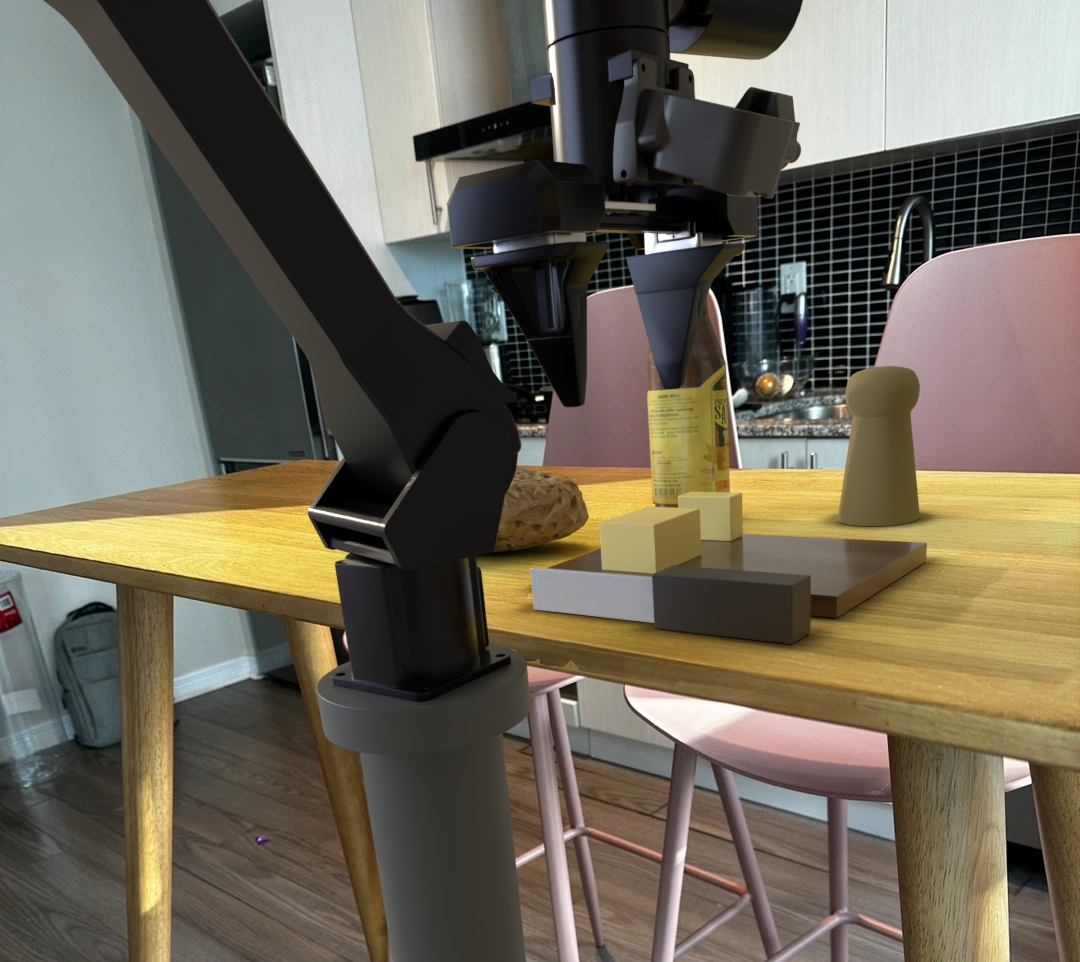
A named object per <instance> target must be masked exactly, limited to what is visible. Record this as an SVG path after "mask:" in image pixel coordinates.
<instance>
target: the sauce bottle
mask: <svg viewBox="0 0 1080 962" xmlns="http://www.w3.org/2000/svg"><path fill="white" fill-rule="evenodd" d="M645 362H646V363H645V364H646V373H647V374H646V375H647V392H646V405H647V421H648V422H647V423H648V440H649V458H650V460H649V461H650V476H651V495H652V496H651V497H652V504H653V505H654V507H669V508H679V507H678V496H680V495H682V494H685V493H688V492H731V481H730V445H729V442H730V441H729V439H730V438H729V437H730V436H729V411H728V410H729V409H728V383H727V382H728V381H727V380H728V379H727V361H726V360H725V357H724V354H723V352H722V349H721V346H720V343H719V340H718V337H717V335H716V332H715V329H714V326H713V323H712V320H711V317H710V315H709V307H708V297H707V298H706V301H705V305H704V308H703V311H702V315H701V319H700V322H699V327H698V331H697V334H696V338H695V342H694V346H693V350H692V354H691V358H690V362H689V366H688V370H687V374H686V377H685V381H684V385H683V386H682V387H681V388H679V389H664V388H663V386H662V383H661V380H660V377H659V374H658V372H657V369H656V366H655V363H654V359H653V356H652V352H651V348H650V347H649V348H648V351H647V353H646V361H645Z"/></svg>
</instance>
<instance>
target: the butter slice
mask: <svg viewBox="0 0 1080 962" xmlns="http://www.w3.org/2000/svg"><path fill="white" fill-rule="evenodd" d="M678 507H679V508H699V509H700V528H701V540H712V541H733V540H735V539H737V538H740V537H742V536H743V534H744V530H743V529H744V528H743V527H744V526H743V524H744V522H743V521H744V520H743V493H742V492H739V491H738V492H735V491H732V492H731V491H730V492H688V493H685V494H682V495H680V496H678Z"/></svg>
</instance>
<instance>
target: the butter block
mask: <svg viewBox="0 0 1080 962" xmlns="http://www.w3.org/2000/svg"><path fill="white" fill-rule="evenodd" d="M598 526H599V540H600V549H601V557H602V570H610V571H623V572H635V573H648V574H654V573H656V572H659V571H661V570H663V569H666V568H668V567H671V566H673V565H675V566H677V565H679V564H681V563H684V562H686V561H688V560H691V559H693V558H695V557H698V556H700V555H701V528H700V509H699V508H669V507H655V506H645V507H641V508H639V509H636V510H632V511H630V512H629V511H628V512H627V513H624V514H621V515H617V516H615V517H612V518H609V519H605V520H602V521H599V524H598Z"/></svg>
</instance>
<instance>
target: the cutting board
mask: <svg viewBox="0 0 1080 962" xmlns="http://www.w3.org/2000/svg"><path fill="white" fill-rule="evenodd" d="M927 549H928V543H927V542H923V541H922V542H921V541H920V542H919V541H903V540H881V539H862V538H861V539H860V538H858V539H857V538H841V537H839V538H838V537H835V538H834V537H821V536H820V537H819V536H801V535H799V536H798V535H797V536H796V535H779V534H759V533H755V534H754V533H743V536H742V537H740V538H737V539H735V540H733V541H712V540H701V555H700V556H698V557H695V558H693V559H691V560H688V561H686V562H684V563H681V564H679V565H677V566H688V567H702V568H716V569H729V570H743V571H757V572H770V573H784V574H798V575H810V576H811V617H819V618H830V619H838V618H839V617H841V616H842V615H844V614H846V613H847V612H849V611H850V610H852V609H854V608H855V607H857V606H858V605H860V604H861V603H863V602H864V601H866V600H867V599H869V598H870V597H872V596H874V595H875V594H877V593H879V592H880V591H882V590H883V589H885V588H887V587H888V586H889V585H892V583H895V582H896V581H898V580H899V579H901V578H902V577H903V576H905V575H908V573H910V572H912V571H914V570H915V569H917V568H918V567H920V566H922V565H923V564H924V563H926V562H927V551H928V550H927ZM547 568H549V569H561V570H573V571H585V572H598V573H610V574H622V575H634V576H646V577H652V574H648V573H635V572H623V571H610V570H602V557H601V548H598V549H595V550H593V551H590V552H587V553H584V554H582V555H579V556H576V557H574V558H571V559H570V558H569V559H568V560H565V561H562V562H560V563H557V564H554V565H552V566H548V567H547Z"/></svg>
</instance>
